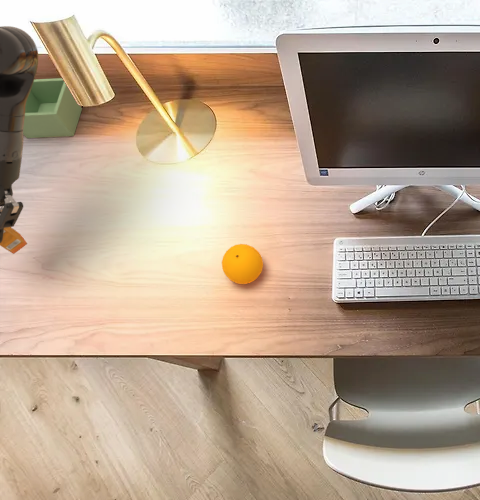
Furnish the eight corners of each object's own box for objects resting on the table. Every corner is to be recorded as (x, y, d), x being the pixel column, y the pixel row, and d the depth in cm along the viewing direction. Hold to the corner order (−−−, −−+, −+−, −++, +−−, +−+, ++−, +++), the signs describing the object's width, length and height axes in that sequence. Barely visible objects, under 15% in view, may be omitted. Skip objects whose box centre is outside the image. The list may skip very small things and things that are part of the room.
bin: (27, 138, 120) (6, 116, 113) (39, 102, 125) (21, 79, 119) (73, 136, 120) (56, 114, 113) (84, 100, 125) (68, 77, 118)
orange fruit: (273, 265, 101) (266, 248, 94) (249, 296, 98) (240, 280, 91) (243, 247, 103) (234, 229, 97) (219, 276, 100) (208, 260, 94)
